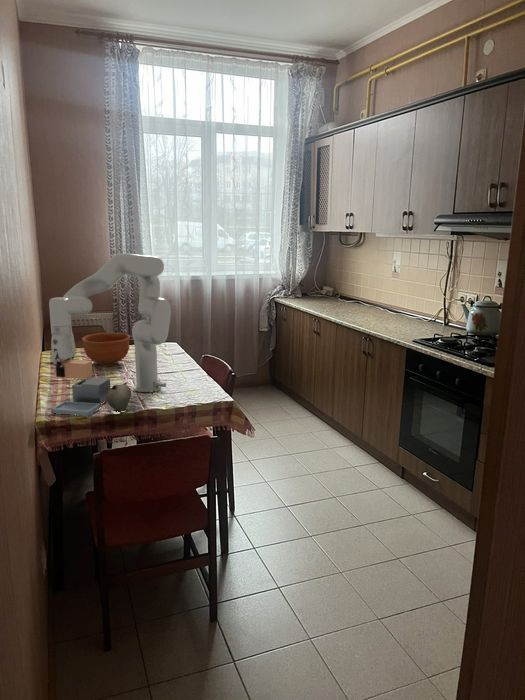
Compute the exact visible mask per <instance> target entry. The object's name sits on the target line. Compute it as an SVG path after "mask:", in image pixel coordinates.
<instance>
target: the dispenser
mask: <svg viewBox="0 0 525 700" xmlns="http://www.w3.org/2000/svg"><path fill="white" fill-rule="evenodd" d="M111 388H112V386H111V378H107V377H105V378H104V377H90V379H89V378H87V379H82V380H80V381H78V382H76V383H74V384H73V385H72V386H71V390H72V391H71V392H72V402H85V403H99V404H101V403H103V402H104V401H106V395H107V393H108V391H109V390H110V389H111ZM106 402H107V401H106ZM103 404H104V403H103Z"/></svg>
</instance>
